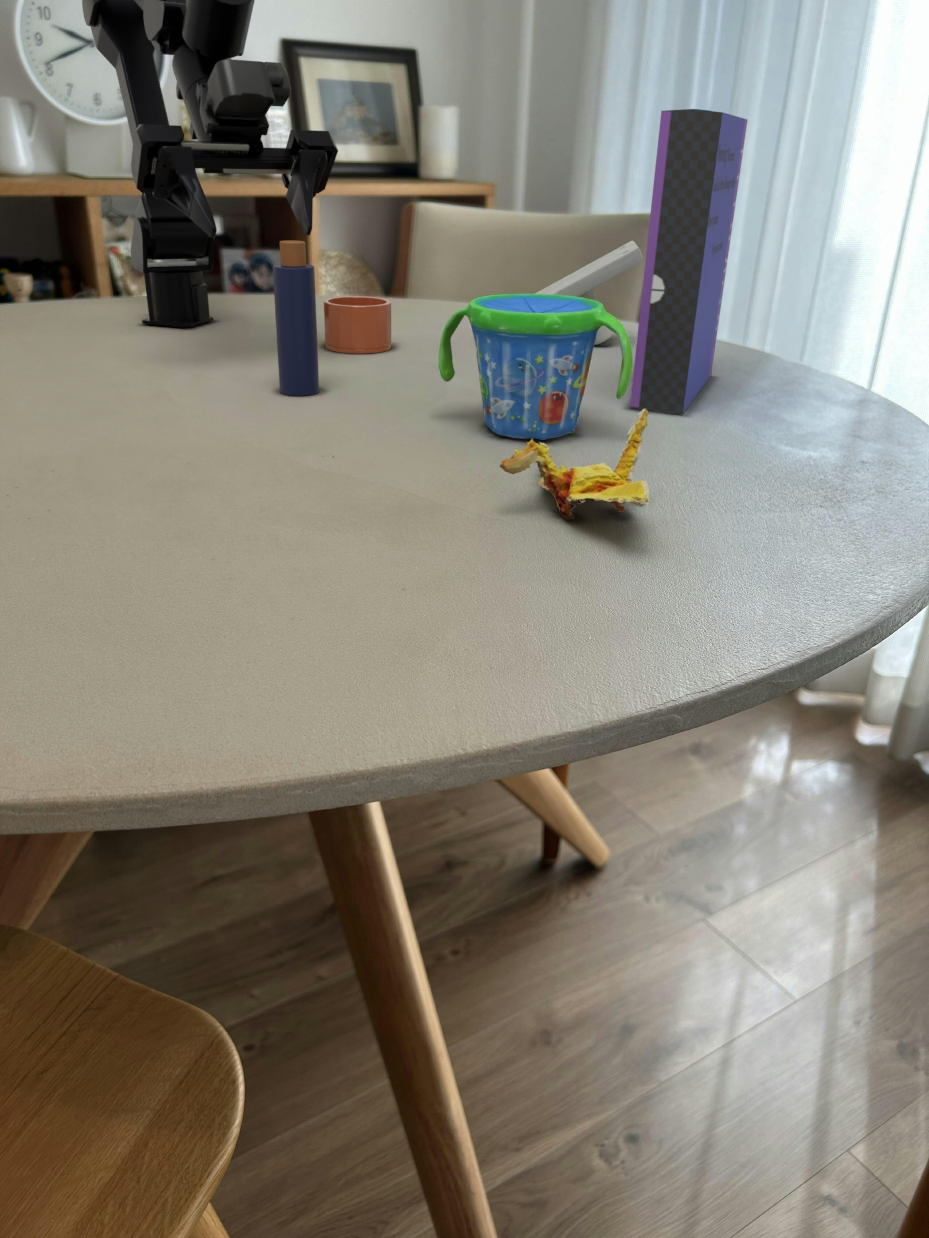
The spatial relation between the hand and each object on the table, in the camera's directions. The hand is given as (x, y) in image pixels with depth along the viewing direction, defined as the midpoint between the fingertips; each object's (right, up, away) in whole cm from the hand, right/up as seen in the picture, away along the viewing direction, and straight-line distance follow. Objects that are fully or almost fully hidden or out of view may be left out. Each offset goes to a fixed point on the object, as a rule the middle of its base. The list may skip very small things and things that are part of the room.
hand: (262, 233), depth 88 cm
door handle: (+30, -1, +30) cm, 42 cm away
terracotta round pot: (+7, -5, +20) cm, 22 cm away
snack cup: (+24, -20, -9) cm, 33 cm away
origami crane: (+27, -29, -27) cm, 48 cm away
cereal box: (+39, -14, +5) cm, 42 cm away
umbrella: (+3, -15, 0) cm, 15 cm away
